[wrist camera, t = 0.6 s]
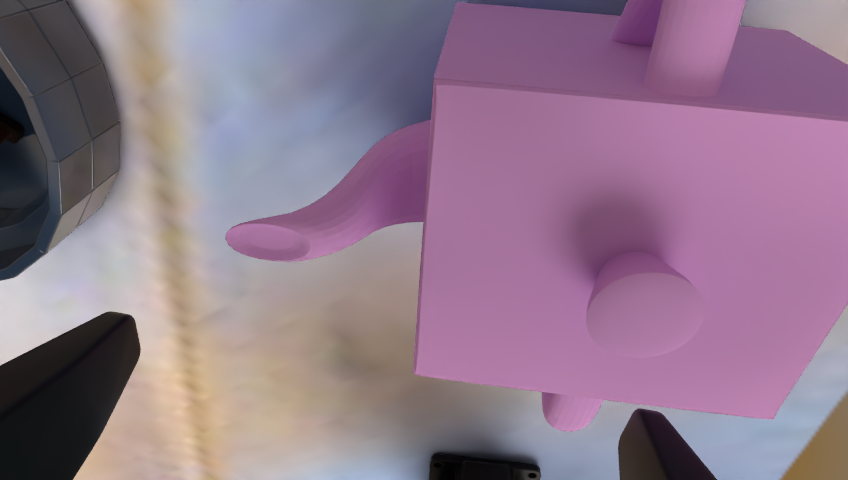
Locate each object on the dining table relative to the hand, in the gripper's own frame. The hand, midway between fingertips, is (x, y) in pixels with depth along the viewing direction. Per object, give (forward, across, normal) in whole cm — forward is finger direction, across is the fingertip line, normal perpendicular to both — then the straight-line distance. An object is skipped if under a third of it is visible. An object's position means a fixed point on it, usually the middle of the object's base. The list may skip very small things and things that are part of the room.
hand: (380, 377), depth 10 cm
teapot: (+14, -5, 0) cm, 15 cm away
